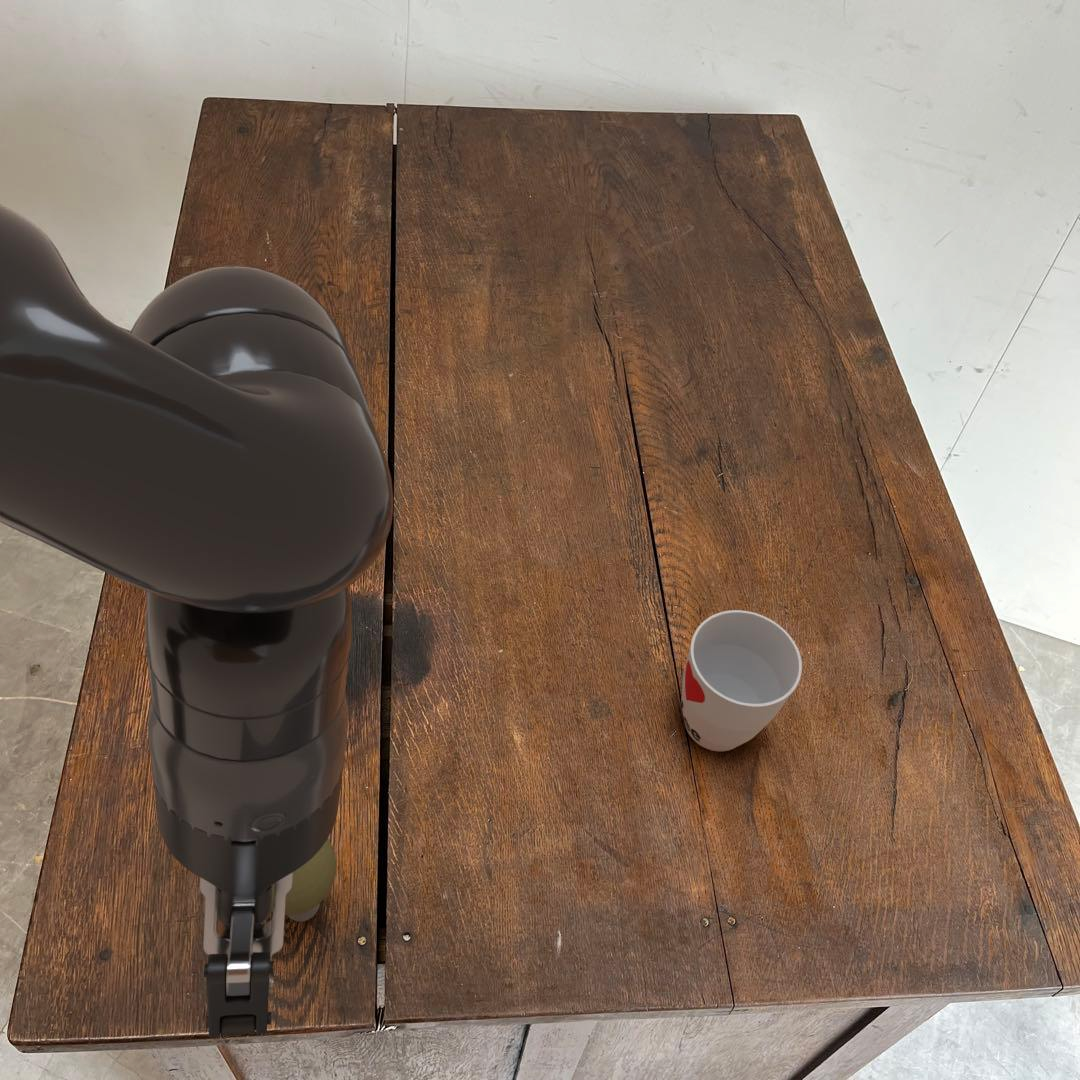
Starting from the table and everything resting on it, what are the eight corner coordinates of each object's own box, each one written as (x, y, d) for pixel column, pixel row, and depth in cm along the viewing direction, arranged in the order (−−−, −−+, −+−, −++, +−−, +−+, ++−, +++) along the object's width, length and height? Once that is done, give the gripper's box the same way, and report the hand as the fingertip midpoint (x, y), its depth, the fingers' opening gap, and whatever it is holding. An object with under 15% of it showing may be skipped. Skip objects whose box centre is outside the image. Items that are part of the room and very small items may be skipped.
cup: (673, 668, 85) (697, 599, 77) (770, 691, 84) (805, 624, 76) (659, 755, 80) (683, 691, 72) (762, 780, 79) (798, 718, 71)
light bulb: (271, 862, 72) (251, 802, 64) (350, 870, 72) (341, 811, 64) (251, 944, 69) (228, 891, 61) (335, 952, 69) (323, 900, 61)
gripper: (173, 610, 45) (187, 801, 57) (124, 924, 36) (153, 1079, 47) (346, 616, 47) (326, 800, 58) (343, 917, 37) (320, 1068, 49)
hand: (249, 924), depth 53 cm, fingers open, 8 cm apart
